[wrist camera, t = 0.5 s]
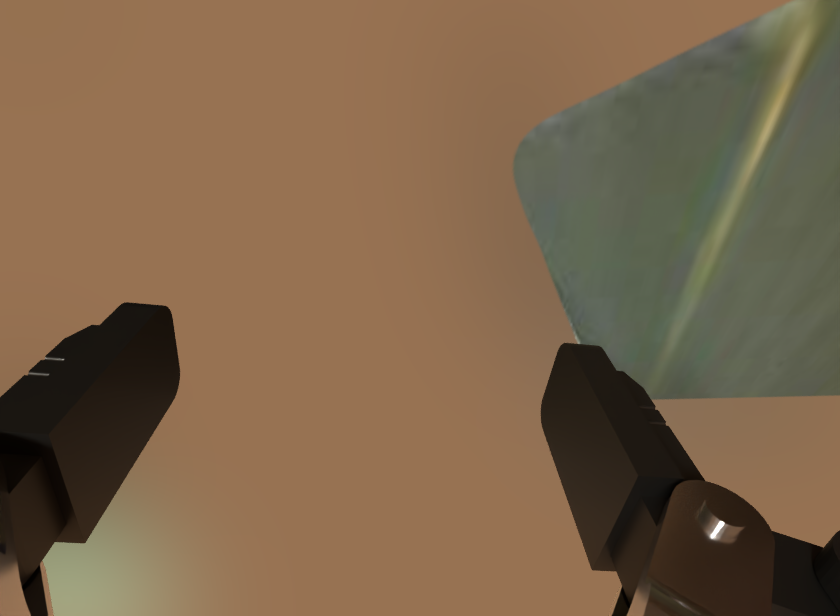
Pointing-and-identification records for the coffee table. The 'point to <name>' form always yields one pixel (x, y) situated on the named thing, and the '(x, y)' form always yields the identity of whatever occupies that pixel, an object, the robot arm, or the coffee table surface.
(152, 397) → the robot arm
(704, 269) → the coffee table surface
